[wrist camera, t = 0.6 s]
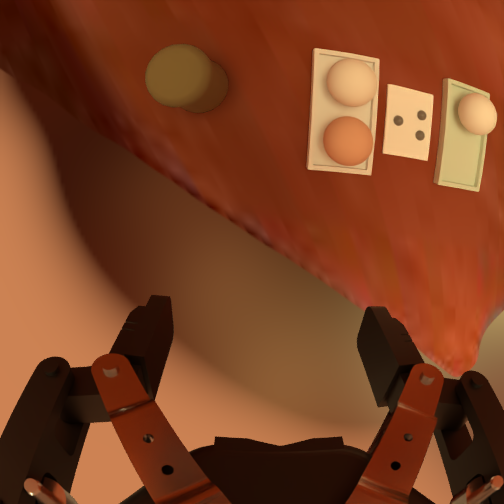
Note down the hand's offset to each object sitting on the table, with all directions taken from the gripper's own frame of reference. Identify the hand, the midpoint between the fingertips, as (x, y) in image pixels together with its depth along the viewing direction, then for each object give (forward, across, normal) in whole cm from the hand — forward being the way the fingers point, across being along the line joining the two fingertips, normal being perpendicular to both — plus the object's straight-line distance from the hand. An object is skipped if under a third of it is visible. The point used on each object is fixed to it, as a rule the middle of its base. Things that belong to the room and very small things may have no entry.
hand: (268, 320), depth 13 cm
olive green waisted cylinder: (+24, +7, -10) cm, 27 cm away
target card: (+23, -16, -9) cm, 30 cm away
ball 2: (+23, -8, -6) cm, 25 cm away
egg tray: (+23, -8, -9) cm, 26 cm away
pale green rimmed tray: (+23, -24, -9) cm, 35 cm away
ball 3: (+23, -24, -12) cm, 35 cm away
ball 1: (+23, -8, -12) cm, 27 cm away
